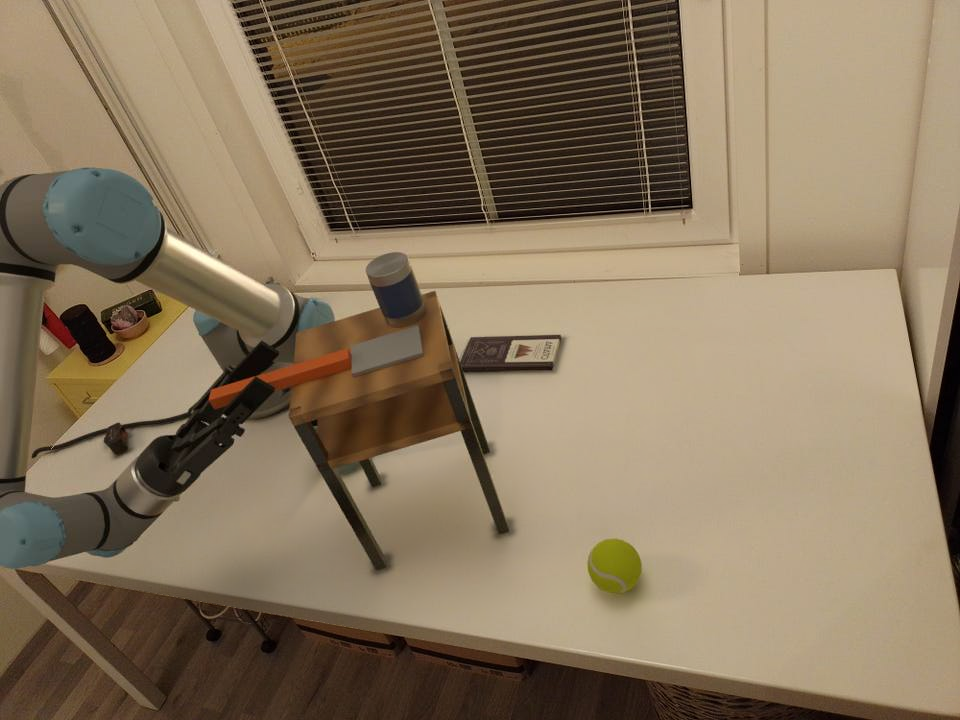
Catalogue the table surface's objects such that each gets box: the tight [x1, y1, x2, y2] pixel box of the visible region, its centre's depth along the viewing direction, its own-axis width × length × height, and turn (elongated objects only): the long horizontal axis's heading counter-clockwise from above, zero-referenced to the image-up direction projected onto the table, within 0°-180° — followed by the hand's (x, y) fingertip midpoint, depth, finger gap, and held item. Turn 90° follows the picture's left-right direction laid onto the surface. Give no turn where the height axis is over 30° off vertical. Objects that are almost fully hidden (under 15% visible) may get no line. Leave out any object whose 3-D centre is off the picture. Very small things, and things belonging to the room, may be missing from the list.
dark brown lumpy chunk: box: [103, 422, 129, 456], centre depth 139 cm, size 5×7×3 cm, turn 25°
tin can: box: [365, 251, 426, 328], centre depth 91 cm, size 6×6×8 cm
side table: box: [288, 290, 510, 571], centre depth 99 cm, size 20×18×31 cm
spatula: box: [209, 326, 424, 409], centre depth 87 cm, size 27×6×2 cm, turn 99°
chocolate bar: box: [459, 334, 562, 372], centre depth 131 cm, size 9×1×18 cm
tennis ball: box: [587, 538, 643, 594], centre depth 88 cm, size 7×7×7 cm
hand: (267, 365), depth 86 cm, fingers open, 7 cm apart
